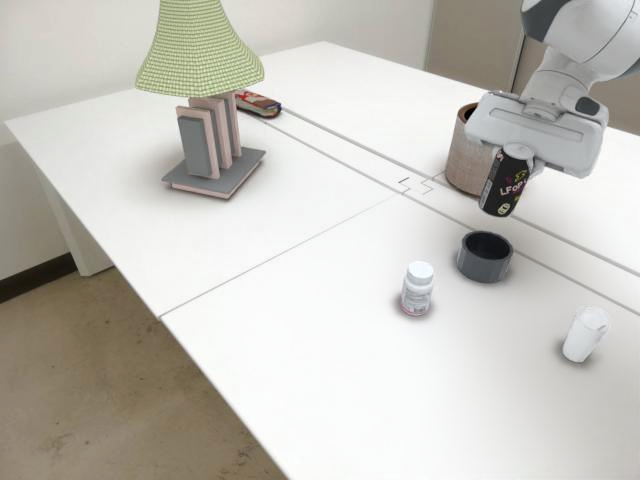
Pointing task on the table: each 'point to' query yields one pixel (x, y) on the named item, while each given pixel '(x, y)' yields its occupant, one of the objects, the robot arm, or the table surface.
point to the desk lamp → (203, 92)
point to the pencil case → (257, 103)
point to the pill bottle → (417, 288)
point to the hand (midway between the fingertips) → (505, 181)
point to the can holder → (484, 256)
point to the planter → (467, 157)
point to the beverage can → (507, 179)
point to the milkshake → (586, 332)
